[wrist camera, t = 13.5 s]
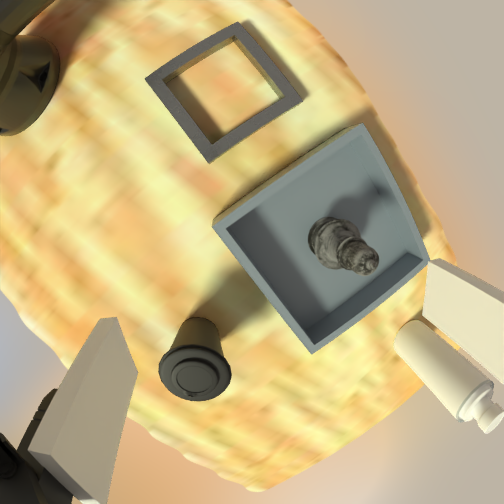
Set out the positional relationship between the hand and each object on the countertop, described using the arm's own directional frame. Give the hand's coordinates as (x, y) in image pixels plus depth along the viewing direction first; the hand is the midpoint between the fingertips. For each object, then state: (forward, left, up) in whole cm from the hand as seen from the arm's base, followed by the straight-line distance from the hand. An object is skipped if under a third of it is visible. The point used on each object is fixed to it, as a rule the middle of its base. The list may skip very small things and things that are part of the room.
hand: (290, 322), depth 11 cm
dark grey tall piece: (+8, +7, -24) cm, 26 cm away
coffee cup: (+9, -14, -25) cm, 30 cm away
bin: (+8, +7, -25) cm, 27 cm away
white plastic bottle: (+32, +11, -25) cm, 42 cm away
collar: (-14, +7, -25) cm, 30 cm away
